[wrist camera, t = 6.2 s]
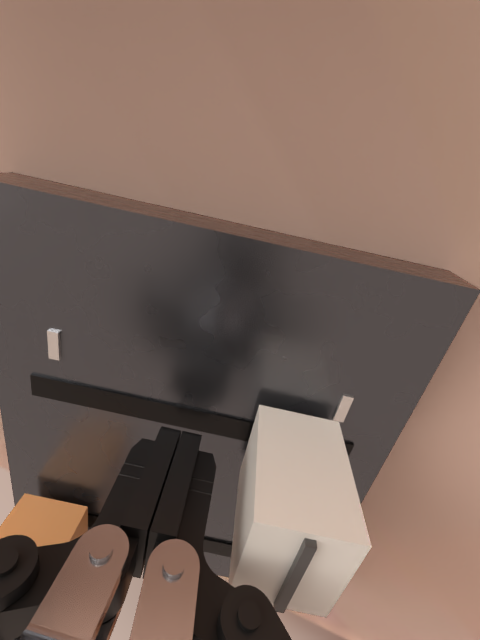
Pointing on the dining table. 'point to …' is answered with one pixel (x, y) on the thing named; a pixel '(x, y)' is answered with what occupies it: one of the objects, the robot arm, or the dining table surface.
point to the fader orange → (46, 520)
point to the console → (197, 341)
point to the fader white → (297, 513)
